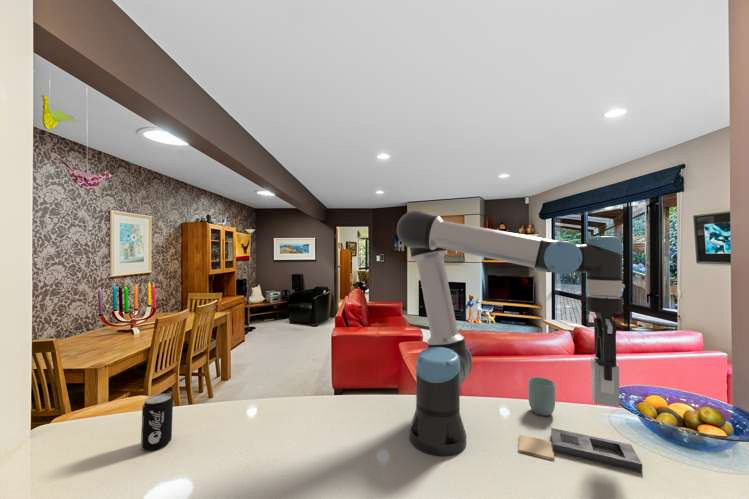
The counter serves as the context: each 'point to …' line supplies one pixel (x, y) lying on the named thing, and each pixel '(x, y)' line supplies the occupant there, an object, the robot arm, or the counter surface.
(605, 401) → the steel peg
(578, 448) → the grey recessed tray
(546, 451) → the cork pad
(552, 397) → the cup
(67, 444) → the counter surface
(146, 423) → the beverage can
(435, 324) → the robot arm
